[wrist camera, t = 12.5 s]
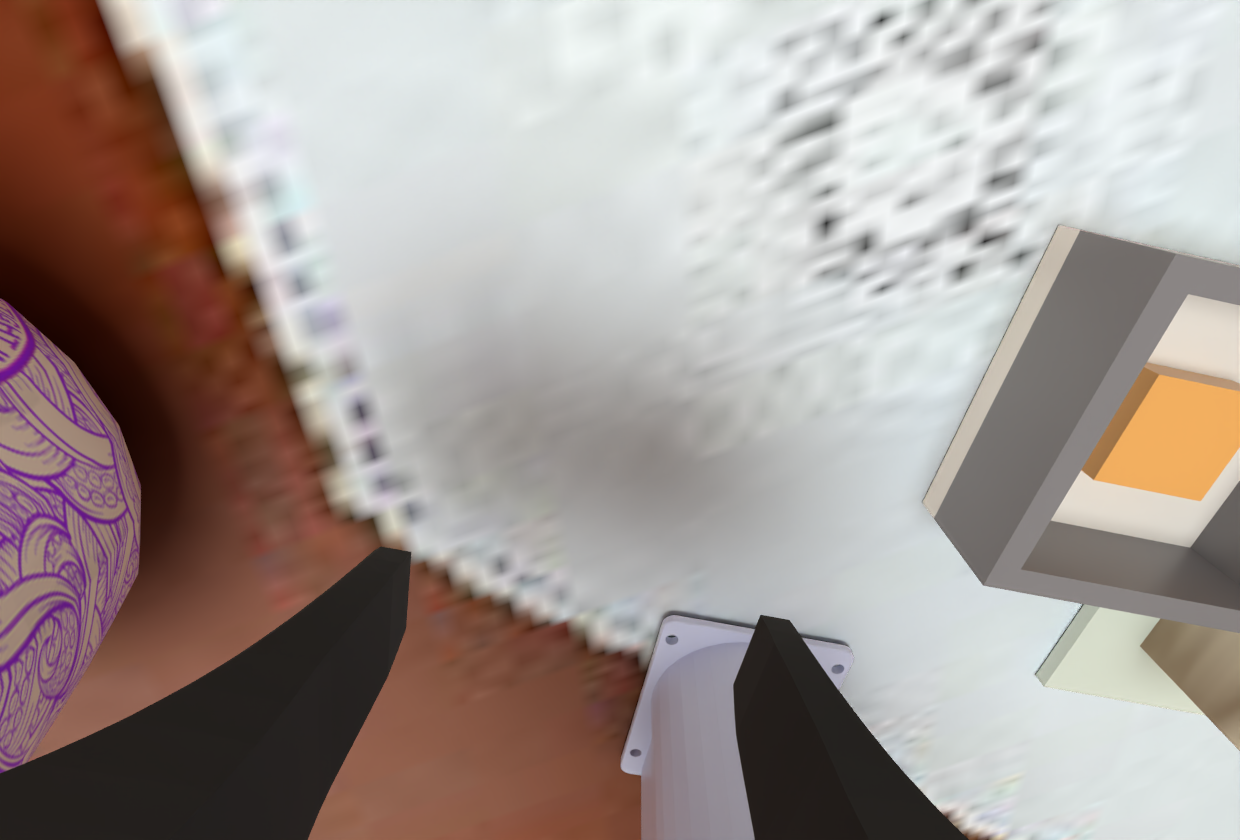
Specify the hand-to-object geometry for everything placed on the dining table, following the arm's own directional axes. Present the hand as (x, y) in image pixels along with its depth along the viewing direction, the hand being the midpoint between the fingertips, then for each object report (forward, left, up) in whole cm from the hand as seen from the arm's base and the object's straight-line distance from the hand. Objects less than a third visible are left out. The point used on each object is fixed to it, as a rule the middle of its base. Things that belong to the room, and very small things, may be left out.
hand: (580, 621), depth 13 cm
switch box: (+4, -17, -10) cm, 20 cm away
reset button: (+4, -17, -9) cm, 20 cm away
